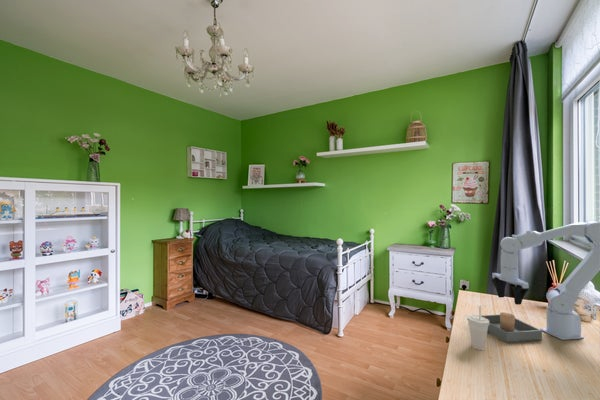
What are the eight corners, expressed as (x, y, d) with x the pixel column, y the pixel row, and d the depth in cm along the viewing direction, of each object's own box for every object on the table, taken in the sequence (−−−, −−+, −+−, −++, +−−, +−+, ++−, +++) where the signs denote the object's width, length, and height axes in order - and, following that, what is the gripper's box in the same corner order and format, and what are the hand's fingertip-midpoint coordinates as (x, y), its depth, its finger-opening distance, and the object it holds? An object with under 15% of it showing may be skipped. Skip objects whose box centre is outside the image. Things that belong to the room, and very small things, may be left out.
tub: (507, 322, 111) (507, 314, 111) (541, 340, 97) (541, 330, 97) (476, 324, 109) (476, 315, 109) (506, 343, 95) (506, 333, 95)
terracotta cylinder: (508, 327, 105) (508, 312, 105) (517, 333, 101) (517, 317, 100) (497, 327, 105) (497, 312, 105) (505, 333, 101) (505, 317, 100)
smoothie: (493, 353, 89) (493, 310, 89) (471, 351, 90) (471, 309, 90) (484, 343, 95) (484, 303, 95) (464, 341, 96) (464, 301, 96)
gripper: (485, 263, 116) (485, 294, 116) (517, 272, 102) (517, 308, 102) (500, 262, 117) (500, 293, 117) (533, 271, 103) (533, 307, 103)
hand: (509, 300), depth 110 cm, fingers open, 7 cm apart
